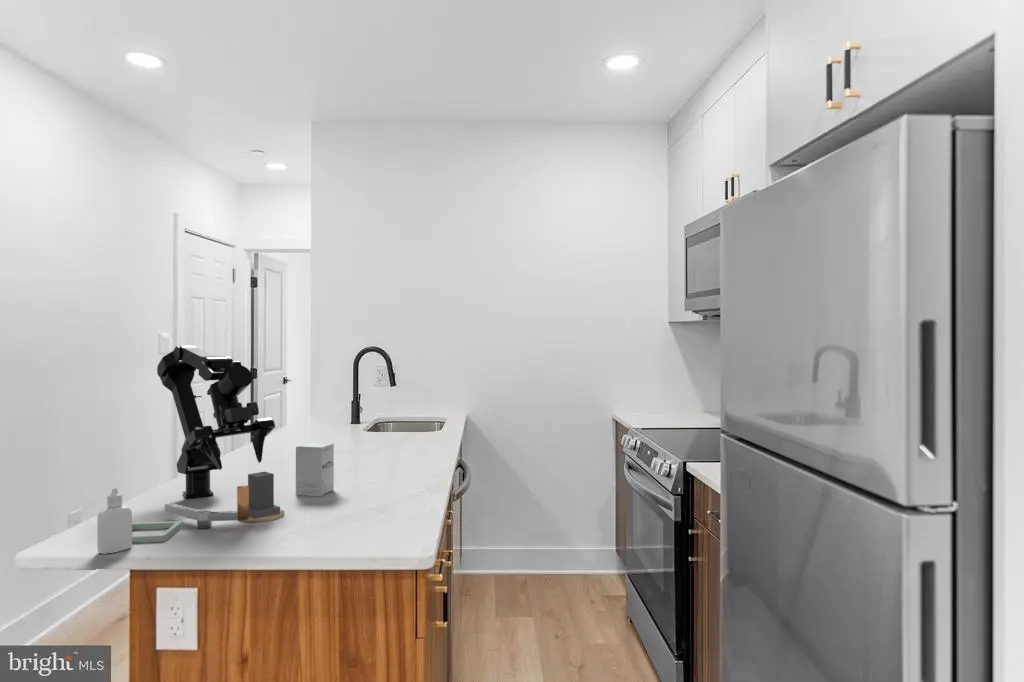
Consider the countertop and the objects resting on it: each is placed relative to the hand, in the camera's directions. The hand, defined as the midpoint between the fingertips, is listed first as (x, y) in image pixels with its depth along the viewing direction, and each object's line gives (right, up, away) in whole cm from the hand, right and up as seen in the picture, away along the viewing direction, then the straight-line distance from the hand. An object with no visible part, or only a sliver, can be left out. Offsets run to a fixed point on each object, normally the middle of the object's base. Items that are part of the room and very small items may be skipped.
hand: (240, 465), depth 157 cm
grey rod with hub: (-4, -10, -9) cm, 15 cm away
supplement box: (+12, -11, +18) cm, 24 cm away
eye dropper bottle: (-13, -11, -29) cm, 33 cm away
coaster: (+6, -11, -5) cm, 13 cm away
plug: (+6, -10, -5) cm, 13 cm away
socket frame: (-12, -11, -19) cm, 25 cm away
